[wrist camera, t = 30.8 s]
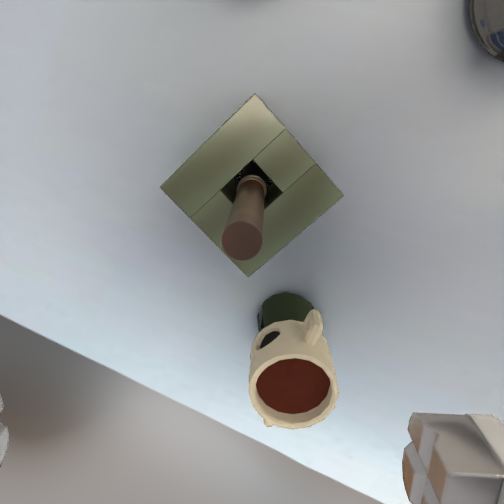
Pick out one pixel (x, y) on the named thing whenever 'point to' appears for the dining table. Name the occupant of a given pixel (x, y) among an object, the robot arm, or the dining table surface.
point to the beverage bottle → (489, 25)
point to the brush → (246, 215)
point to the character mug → (291, 365)
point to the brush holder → (275, 167)
